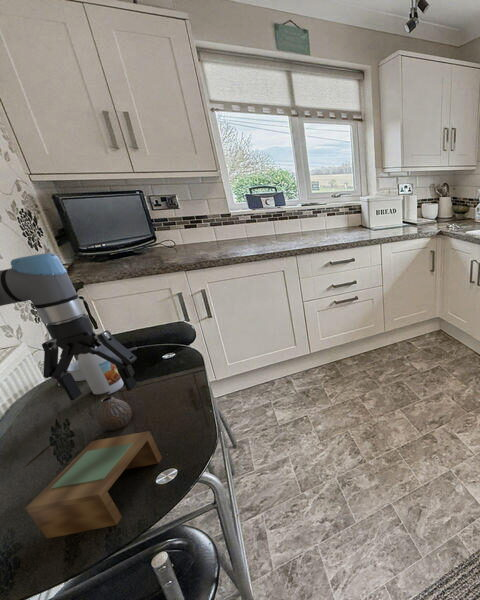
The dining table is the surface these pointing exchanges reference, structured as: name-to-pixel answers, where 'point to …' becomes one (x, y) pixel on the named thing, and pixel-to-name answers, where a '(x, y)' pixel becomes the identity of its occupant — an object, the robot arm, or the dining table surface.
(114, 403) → the vase
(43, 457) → the dining table surface
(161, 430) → the dining table surface
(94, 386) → the milk bottle
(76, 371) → the saucepan
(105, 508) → the shelf
